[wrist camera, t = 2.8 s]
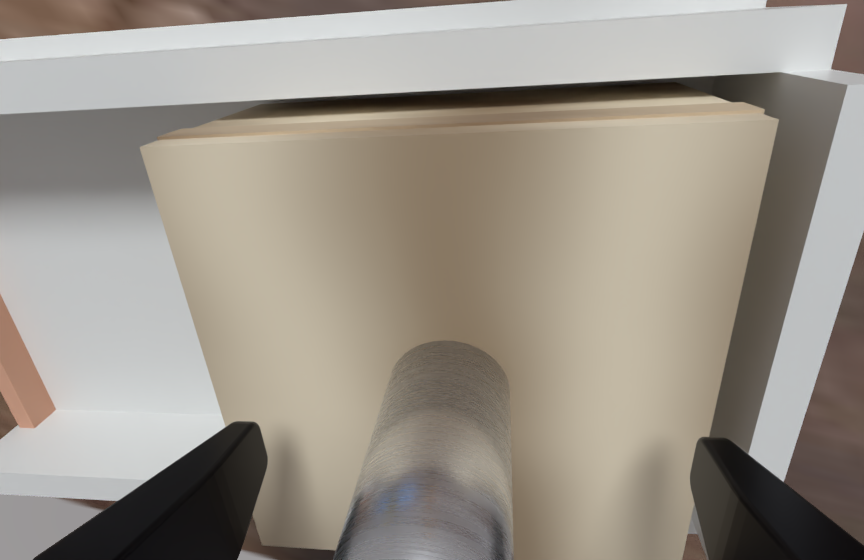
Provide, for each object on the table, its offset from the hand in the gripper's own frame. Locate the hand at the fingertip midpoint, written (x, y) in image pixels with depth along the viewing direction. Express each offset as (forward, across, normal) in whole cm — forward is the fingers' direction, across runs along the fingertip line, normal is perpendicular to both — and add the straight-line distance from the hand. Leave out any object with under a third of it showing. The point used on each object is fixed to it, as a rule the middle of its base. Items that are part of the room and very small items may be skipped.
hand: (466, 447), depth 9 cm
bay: (+7, +5, 0) cm, 9 cm away
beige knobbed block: (+8, 0, 0) cm, 8 cm away
